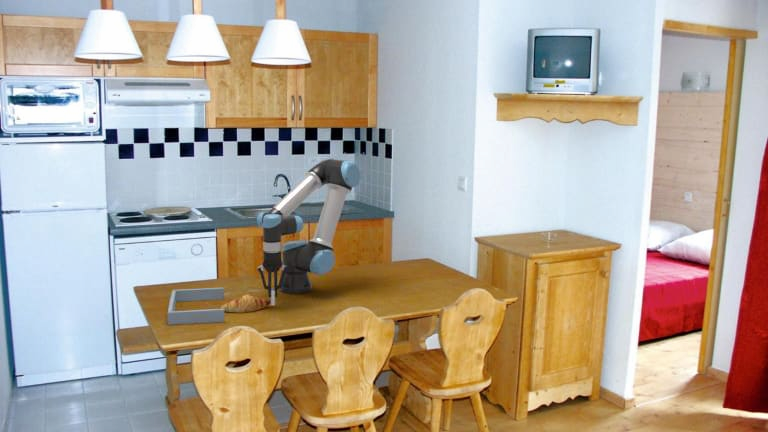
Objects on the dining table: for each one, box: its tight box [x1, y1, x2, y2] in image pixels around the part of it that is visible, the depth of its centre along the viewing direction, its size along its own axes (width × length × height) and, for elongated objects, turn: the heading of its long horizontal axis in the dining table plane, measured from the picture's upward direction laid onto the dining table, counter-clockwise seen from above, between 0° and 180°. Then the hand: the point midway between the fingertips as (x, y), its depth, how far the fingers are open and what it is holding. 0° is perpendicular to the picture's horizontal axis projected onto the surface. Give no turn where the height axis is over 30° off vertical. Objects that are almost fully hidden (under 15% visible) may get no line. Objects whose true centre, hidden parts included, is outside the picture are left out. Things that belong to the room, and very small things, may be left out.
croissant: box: [219, 293, 271, 314], centre depth 299 cm, size 21×10×8 cm, turn 113°
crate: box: [167, 287, 226, 326], centre depth 296 cm, size 22×33×5 cm, turn 13°
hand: (272, 304), depth 303 cm, fingers closed
